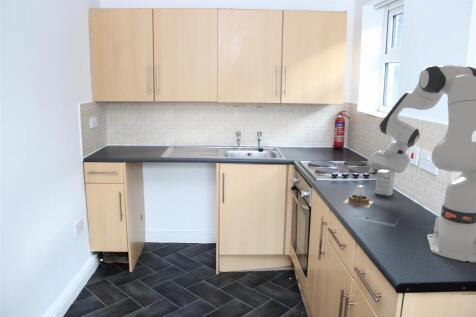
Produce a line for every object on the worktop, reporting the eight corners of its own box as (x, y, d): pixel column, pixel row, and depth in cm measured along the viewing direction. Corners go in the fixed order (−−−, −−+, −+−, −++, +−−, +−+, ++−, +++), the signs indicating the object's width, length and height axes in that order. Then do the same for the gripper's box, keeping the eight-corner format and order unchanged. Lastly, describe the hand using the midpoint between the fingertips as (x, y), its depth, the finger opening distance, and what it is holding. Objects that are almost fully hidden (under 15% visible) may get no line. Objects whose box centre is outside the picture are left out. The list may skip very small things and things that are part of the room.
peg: (361, 203, 182) (363, 187, 180) (353, 202, 184) (355, 186, 182) (363, 201, 185) (365, 185, 184) (355, 200, 187) (357, 184, 186)
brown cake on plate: (368, 209, 177) (369, 202, 176) (342, 204, 183) (343, 197, 182) (373, 203, 187) (374, 196, 186) (349, 198, 193) (350, 191, 192)
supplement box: (378, 191, 207) (381, 168, 205) (392, 194, 203) (395, 171, 200) (374, 194, 202) (376, 171, 199) (388, 197, 197) (391, 173, 194)
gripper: (374, 145, 197) (359, 165, 194) (408, 153, 179) (391, 175, 176) (380, 153, 200) (364, 173, 197) (413, 161, 182) (396, 183, 179)
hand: (377, 174), depth 187 cm, fingers open, 8 cm apart
